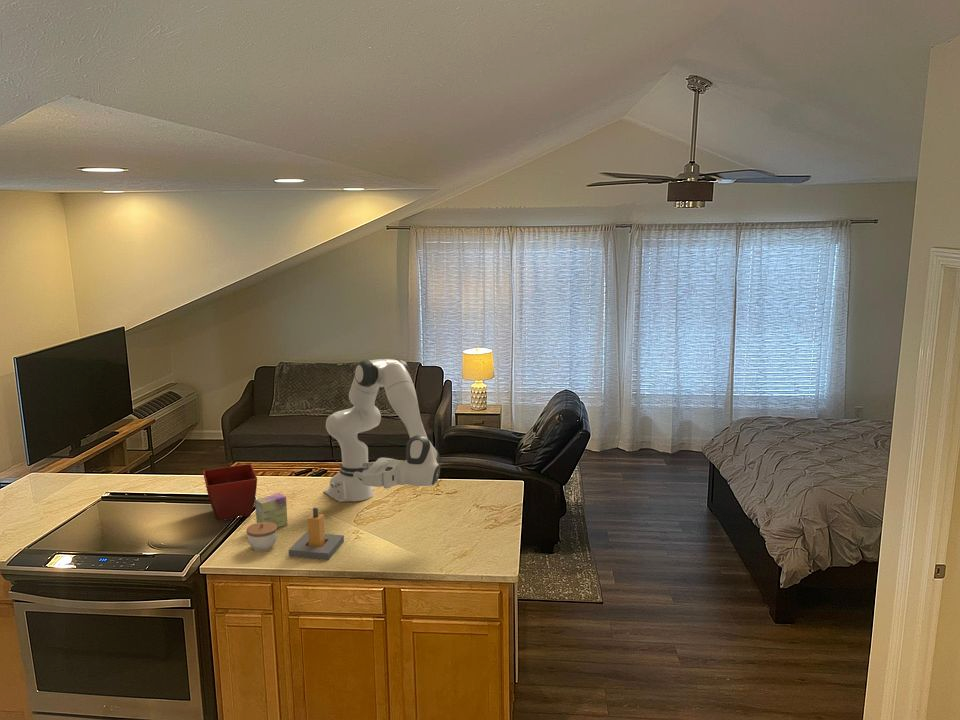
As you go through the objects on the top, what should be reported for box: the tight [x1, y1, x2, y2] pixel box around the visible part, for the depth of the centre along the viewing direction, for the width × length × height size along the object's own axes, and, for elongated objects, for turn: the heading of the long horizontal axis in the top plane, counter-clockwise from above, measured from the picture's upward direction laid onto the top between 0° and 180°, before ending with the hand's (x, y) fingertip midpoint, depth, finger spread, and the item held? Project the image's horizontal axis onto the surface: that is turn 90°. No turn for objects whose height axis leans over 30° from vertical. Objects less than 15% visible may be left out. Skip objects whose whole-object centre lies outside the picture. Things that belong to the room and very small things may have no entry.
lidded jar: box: [246, 522, 278, 552], centre depth 267 cm, size 11×11×9 cm
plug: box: [307, 507, 326, 547], centre depth 265 cm, size 4×4×15 cm
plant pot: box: [202, 463, 258, 521], centre depth 296 cm, size 19×19×17 cm
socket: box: [288, 531, 345, 561], centre depth 266 cm, size 15×15×2 cm
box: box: [254, 492, 288, 529], centre depth 284 cm, size 10×6×12 cm, turn 135°
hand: (358, 469), depth 268 cm, fingers open, 8 cm apart
